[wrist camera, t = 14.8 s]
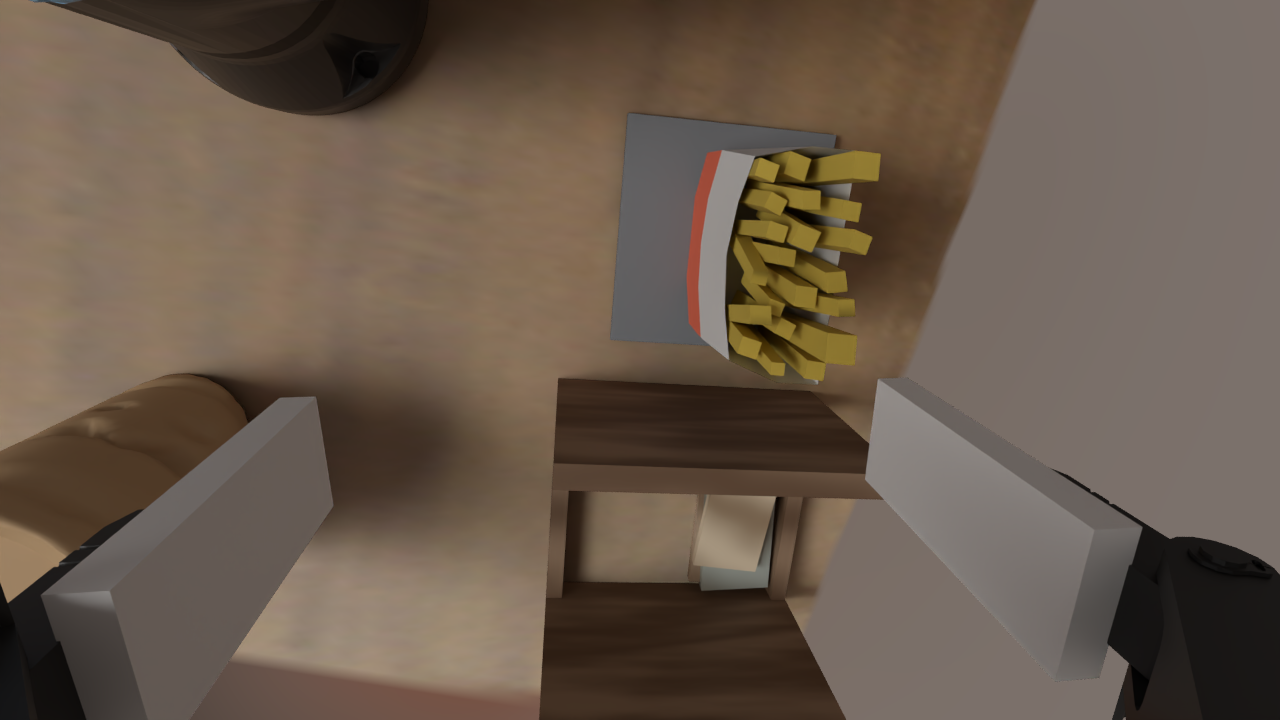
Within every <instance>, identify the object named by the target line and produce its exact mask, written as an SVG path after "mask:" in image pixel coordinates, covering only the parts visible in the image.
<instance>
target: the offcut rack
mask: <svg viewBox="0 0 1280 720" xmlns="http://www.w3.org/2000/svg"><path fill="white" fill-rule="evenodd" d="M868 452H869V443H868V442H867V441H865V440H864V439H863V438H862V437H861V436H860V435H859V434H858V433H856V432H855V431H854V430H853V429H852V428H851V427H850V426H849V425H847V424H846V423H845V422H844V421H843V420H842V419H841V418H840V417H838V416H837V415H836V414H835V413H834V412H833V411H832V410H831V409H829V408H828V407H827V406H826V405H825V404H824V403H823V402H822V401H820V400H819V399H818V398H817V397H816V396H815V395H814V394H813V393H811V392H810V391H792V390H773V389H753V388H734V387H714V386H695V385H675V384H656V383H636V382H617V381H597V380H578V379H558V393H557V411H556V429H555V447H554V464H553V482H552V500H551V518H550V536H549V554H548V572H547V589H546V607H545V625H544V643H543V661H542V679H541V697H540V717H539V720H846V718H845V716H844V714H843V713H842V711H841V709H840V707H839V705H838V703H837V701H836V699H835V697H834V695H833V693H832V691H831V689H830V687H829V685H828V683H827V681H826V679H825V677H824V675H823V673H822V671H821V669H820V667H819V665H818V664H817V662H816V660H815V658H814V656H813V654H812V652H811V650H810V648H809V646H808V644H807V642H806V640H805V638H804V636H803V634H802V632H801V630H800V628H799V626H798V624H797V622H796V620H795V618H794V616H793V614H792V612H791V611H790V609H789V607H788V605H787V603H786V601H785V597H786V592H787V586H788V580H789V575H790V569H791V563H792V558H793V552H794V546H795V541H796V535H797V529H798V524H799V518H800V512H801V507H802V501H803V497H810V498H845V499H880V500H884V499H883V498H882V497H881V496H880V495H879V494H878V493H877V492H876V491H875V489H874V488H873V487H872V486H871V485H870V484H869V483H868V482H867V481H866V480H865V475H866V467H867V460H868ZM569 491H600V492H635V493H670V494H698V496H697V504H696V512H695V520H694V528H693V536H692V544H691V552H690V559H689V567H688V575H687V576H688V579H689V582H699V584H696V583H594V582H563V572H564V557H565V541H566V525H567V510H568V494H569ZM776 497H778V498H777V504H776V510H775V499H776ZM774 510H775V516H774ZM773 521H774V522H773Z"/></svg>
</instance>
